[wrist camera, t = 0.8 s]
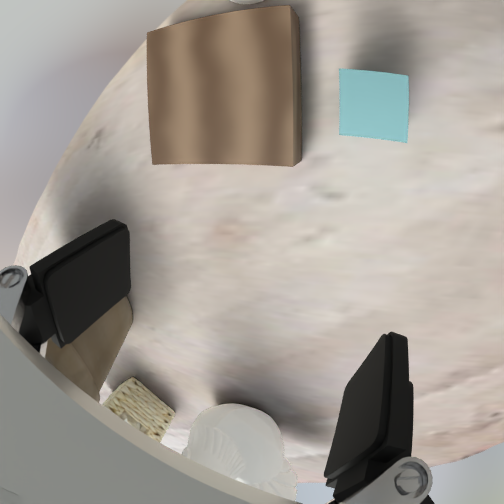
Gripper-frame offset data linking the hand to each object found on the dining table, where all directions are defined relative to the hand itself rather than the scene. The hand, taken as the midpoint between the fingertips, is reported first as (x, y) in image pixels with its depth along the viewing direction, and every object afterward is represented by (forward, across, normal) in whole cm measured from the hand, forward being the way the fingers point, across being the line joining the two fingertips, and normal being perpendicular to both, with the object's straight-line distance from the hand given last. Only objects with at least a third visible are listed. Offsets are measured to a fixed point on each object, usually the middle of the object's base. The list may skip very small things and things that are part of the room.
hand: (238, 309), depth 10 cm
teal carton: (+24, -2, -8) cm, 25 cm away
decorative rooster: (+24, -4, +50) cm, 56 cm away
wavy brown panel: (+24, +13, -6) cm, 28 cm away
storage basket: (+23, +25, +68) cm, 76 cm away
